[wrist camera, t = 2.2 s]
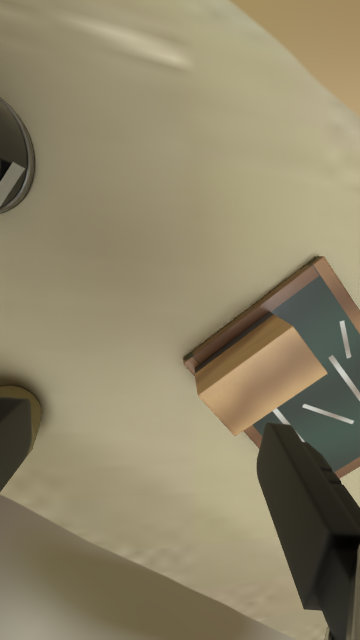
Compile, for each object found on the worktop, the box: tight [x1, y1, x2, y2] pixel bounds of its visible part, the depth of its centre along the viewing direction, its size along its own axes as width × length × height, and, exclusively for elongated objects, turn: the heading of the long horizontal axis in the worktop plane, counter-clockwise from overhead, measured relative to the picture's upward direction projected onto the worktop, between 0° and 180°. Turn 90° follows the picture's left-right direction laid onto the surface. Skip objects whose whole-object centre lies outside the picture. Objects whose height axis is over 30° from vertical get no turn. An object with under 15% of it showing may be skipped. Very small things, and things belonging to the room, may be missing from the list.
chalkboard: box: [183, 256, 360, 479], centre depth 27 cm, size 22×16×1 cm
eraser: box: [194, 312, 327, 436], centre depth 22 cm, size 5×9×5 cm, turn 130°
